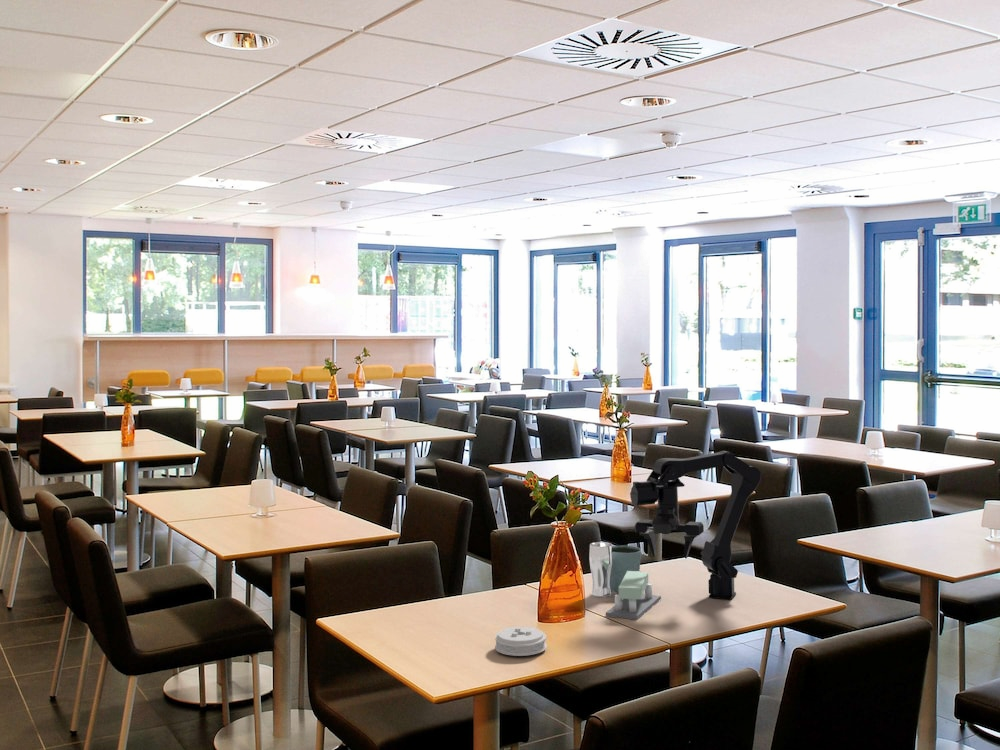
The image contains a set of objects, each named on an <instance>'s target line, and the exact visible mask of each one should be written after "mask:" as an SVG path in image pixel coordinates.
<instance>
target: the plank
mask: <svg viewBox="0 0 1000 750" xmlns="http://www.w3.org/2000/svg"><path fill="white" fill-rule="evenodd" d="M648 583H649V571H627V573H626V574H625V576H624V578H623V580H622V582H621V584H620V586H619V592H618V595H619V598H622V599H641V598H642V596H643V594H645V589H646V586H647V584H648Z"/></svg>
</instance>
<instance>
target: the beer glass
mask: <svg viewBox="0 0 1000 750" xmlns="http://www.w3.org/2000/svg"><path fill="white" fill-rule="evenodd" d="M612 547H613V544H612V543H611V542H607V541H597V542H591V543H590V544H589V553H588V554H589V557H588V558H589V566H590V567H589V568H590V573H591V578H592V590H591V596H593V597H596V598H609V597H612V596H613V590H612V589H611V575H612V568H613V551H612Z"/></svg>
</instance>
